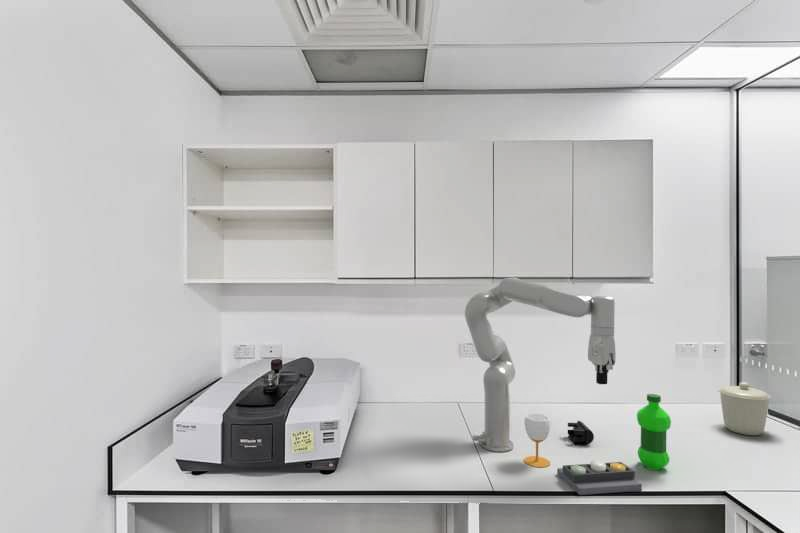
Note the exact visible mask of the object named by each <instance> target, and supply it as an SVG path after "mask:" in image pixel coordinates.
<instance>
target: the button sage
mask: <svg viewBox="0 0 800 533" xmlns="http://www.w3.org/2000/svg"><path fill="white" fill-rule="evenodd" d="M572 465H573V466H571V471H572V472H573V473H574V474H582V473H586V469H585V468H584V467H582V466H578V465H579V464H572Z"/></svg>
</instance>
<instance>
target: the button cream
mask: <svg viewBox="0 0 800 533" xmlns="http://www.w3.org/2000/svg"><path fill="white" fill-rule="evenodd" d="M605 463H606V462H604V461H599V460H592V461H590V464H591V470H593V471H594V472H595V473H597V472H606V464H605Z"/></svg>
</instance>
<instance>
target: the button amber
mask: <svg viewBox="0 0 800 533" xmlns="http://www.w3.org/2000/svg"><path fill="white" fill-rule="evenodd" d="M610 463H611V462H610ZM610 468H612V469H613V470H614V471H626V467H625V466H624V465H622V464H620V463H611V464H610Z"/></svg>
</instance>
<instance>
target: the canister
mask: <svg viewBox="0 0 800 533" xmlns="http://www.w3.org/2000/svg"><path fill="white" fill-rule="evenodd" d="M718 392H719V393H720V403H721V412H722V418H723V423H724V425H725V427H726V428H727V429H728V430H729V431H730V432H734V433H736V434H739V435H740V434H741V435H746V436H760V435H762V434H763V433H764V431H765V427H766V423H767V416H768V410H769V403H770V400H771V399H772V396H771V395H770V394H768V393H767V392H765V391H763V390H760V389H759V388H758V389H757V388H752V387H750V383H748V382H745V381H741V382H739V383H738V385H726V386H723V387H720V388H718Z"/></svg>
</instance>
